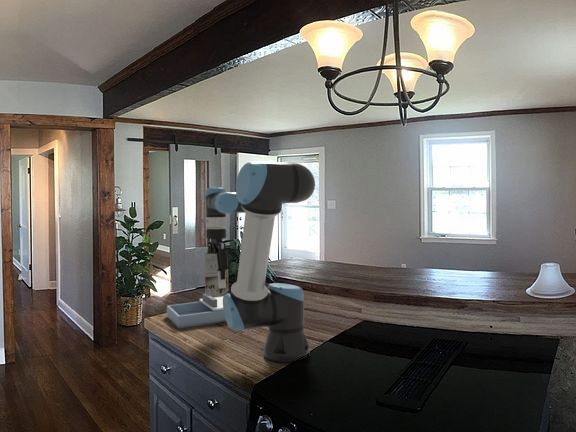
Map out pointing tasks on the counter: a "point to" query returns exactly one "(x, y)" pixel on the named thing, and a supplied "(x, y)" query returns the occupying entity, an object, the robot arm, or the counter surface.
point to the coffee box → (213, 275)
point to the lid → (213, 302)
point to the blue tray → (193, 315)
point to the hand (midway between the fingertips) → (217, 285)
